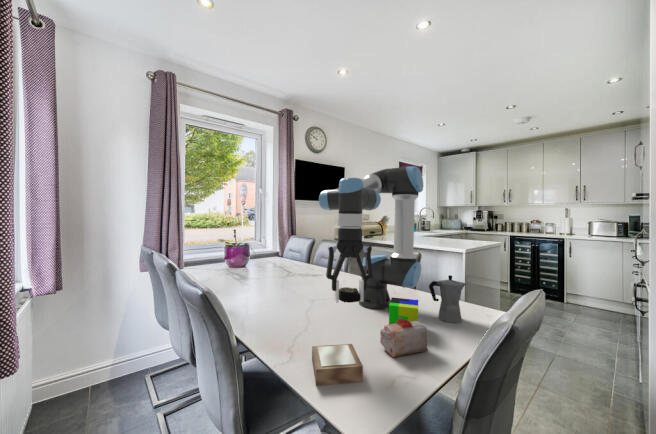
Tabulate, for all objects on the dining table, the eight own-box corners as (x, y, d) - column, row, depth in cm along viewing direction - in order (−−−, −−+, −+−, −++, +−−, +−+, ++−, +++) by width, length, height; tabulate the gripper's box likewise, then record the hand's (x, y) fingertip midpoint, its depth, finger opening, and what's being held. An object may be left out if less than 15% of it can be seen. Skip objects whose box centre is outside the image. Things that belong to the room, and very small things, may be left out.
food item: (391, 360, 79) (391, 327, 79) (378, 347, 87) (378, 317, 86) (430, 353, 83) (430, 321, 83) (414, 341, 91) (414, 312, 91)
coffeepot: (459, 314, 116) (460, 273, 116) (471, 323, 107) (472, 278, 106) (424, 314, 115) (424, 272, 115) (433, 323, 106) (434, 278, 106)
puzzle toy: (418, 325, 104) (418, 300, 104) (417, 336, 95) (418, 308, 94) (391, 322, 107) (391, 297, 107) (388, 332, 98) (389, 305, 98)
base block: (351, 357, 81) (352, 343, 81) (362, 381, 69) (362, 365, 69) (312, 359, 79) (312, 345, 79) (316, 385, 67) (316, 368, 67)
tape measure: (360, 305, 81) (360, 292, 81) (337, 304, 81) (338, 292, 81) (358, 298, 88) (358, 286, 88) (337, 297, 88) (337, 286, 88)
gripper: (377, 227, 89) (376, 296, 89) (317, 226, 87) (316, 298, 87) (385, 228, 82) (383, 303, 82) (319, 227, 79) (318, 305, 79)
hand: (349, 300), depth 84 cm, fingers closed on tape measure, 7 cm apart
